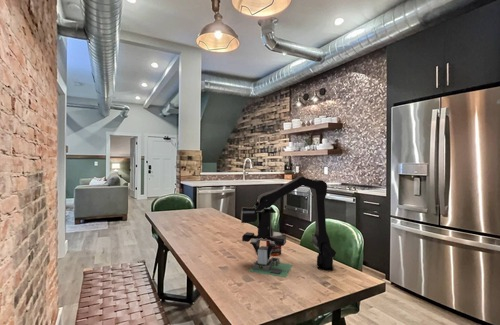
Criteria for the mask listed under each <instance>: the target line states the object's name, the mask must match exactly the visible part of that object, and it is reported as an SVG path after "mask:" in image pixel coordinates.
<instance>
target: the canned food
mask: <svg viewBox="0 0 500 325" xmlns="http://www.w3.org/2000/svg"><path fill="white" fill-rule="evenodd" d="M277 236H283V235H282V232H278V231H274V233H273V236H271V237H274V238H276V237H277ZM265 242H266V244H265V245H266V247H268V245H269V244H270V242H269V241H265ZM281 255H282V246H278V245H276V246H275V247H273V249H272V252H271V255H270V257H277V256H278V257H279V256H281Z"/></svg>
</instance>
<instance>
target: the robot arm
mask: <svg viewBox="0 0 500 325" xmlns="http://www.w3.org/2000/svg"><path fill="white" fill-rule="evenodd" d="M300 187H307V188H309V189H310V193H311V196H312V198H313V202H314V203H313V205H314V219H315V220H314V221H315V232H314V233H311V243H312V244H313V247H315V248H316V250H317V252H318V254H317V256H316V265H317V269H318V270H323V271H325V270H326V271H333V270H334V258H335V256H336V254H337V252H336V251H335V250H334V248H332V246H331V241H330V237H329V235H328V232H327V224H326V223H327V221H326V207H325V199H326V196H327V193H328V184H327V182H325V181H324V180H321V179H315V178H314V179H311V178H308V177H305V176H302V175H300V176H297V177H295V178H293V179H292V180H290V181H289V182H287V183H285V184H283V185H281V186H279V187H278V188H275V189H273V190H269V191H266V192H263V193H261V194H259V195H258V196H257V201H256V202H255V204H254V205H253V206H252V207H247V206H242V207H241V212H240V222H241V224H255V222H257V226H256V228H257V234H256V235H255V233H254V232H249V231H246V232H245V233H244V234H243V235H242V237H241V240H242V242H244V243H245V242H249V244H250V245H252V247H253V249H254V251H255V254H256V255H257V257H258V249H259V248H260V247H261V246H260V243H261V241H262V242H266V241H269V242H270V244H269V245H268V259H269V258H270V259H271V256H270V255H271V252H272V249H273V247H275V246H276V245H278V246H281V247H283V246H284V247H285V245H286V244H287V237H286V236H284V235H282V236H277V237H276V238H274V237H271V236H273V233H274V232H275V229H274V228H273V227H272V214H276V213H277V211H276V210H275V209H274V208H273V205H275V203H277V201H278V200H280V198H282V197H284V196H286V195H288V194H290V193H291V192H293V191H295V190H297V189H299V188H300Z"/></svg>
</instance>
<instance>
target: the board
mask: <svg viewBox="0 0 500 325" xmlns="http://www.w3.org/2000/svg"><path fill="white" fill-rule="evenodd" d="M271 260H272V261H273V266H272V268H271V269H270V271H269V272H267V271H263V266H265V264H259V270H254V269H253V266H252V267H251V268H250V269H249V270H248V272H249V273H255V274H259V275H261V274H262V275H267V276H273V277H280V278H287V276H288V274H289V273H290V271H291V268H292V267H293V264H292V263H291V264H289V263H283V262H280V260H281V259H280V258H279V257H275V256H271V257H270V261H271ZM261 265H263V266H261ZM260 266H261V268H260ZM267 266H268V265H267Z"/></svg>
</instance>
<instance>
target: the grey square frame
mask: <svg viewBox="0 0 500 325" xmlns="http://www.w3.org/2000/svg"><path fill="white" fill-rule="evenodd" d="M267 265H268V266H267ZM267 265H265V266H263V265H261V266H263V271H267V272H269V271H270V269H271V268H272V266H273V261H272V260H271V261H270V260H269V262H268V263H267ZM261 266H260V268H261ZM252 267H253V269H254V270H259V263H258V259H257V260H256V261H255V262H254V263H253V264H252Z"/></svg>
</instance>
